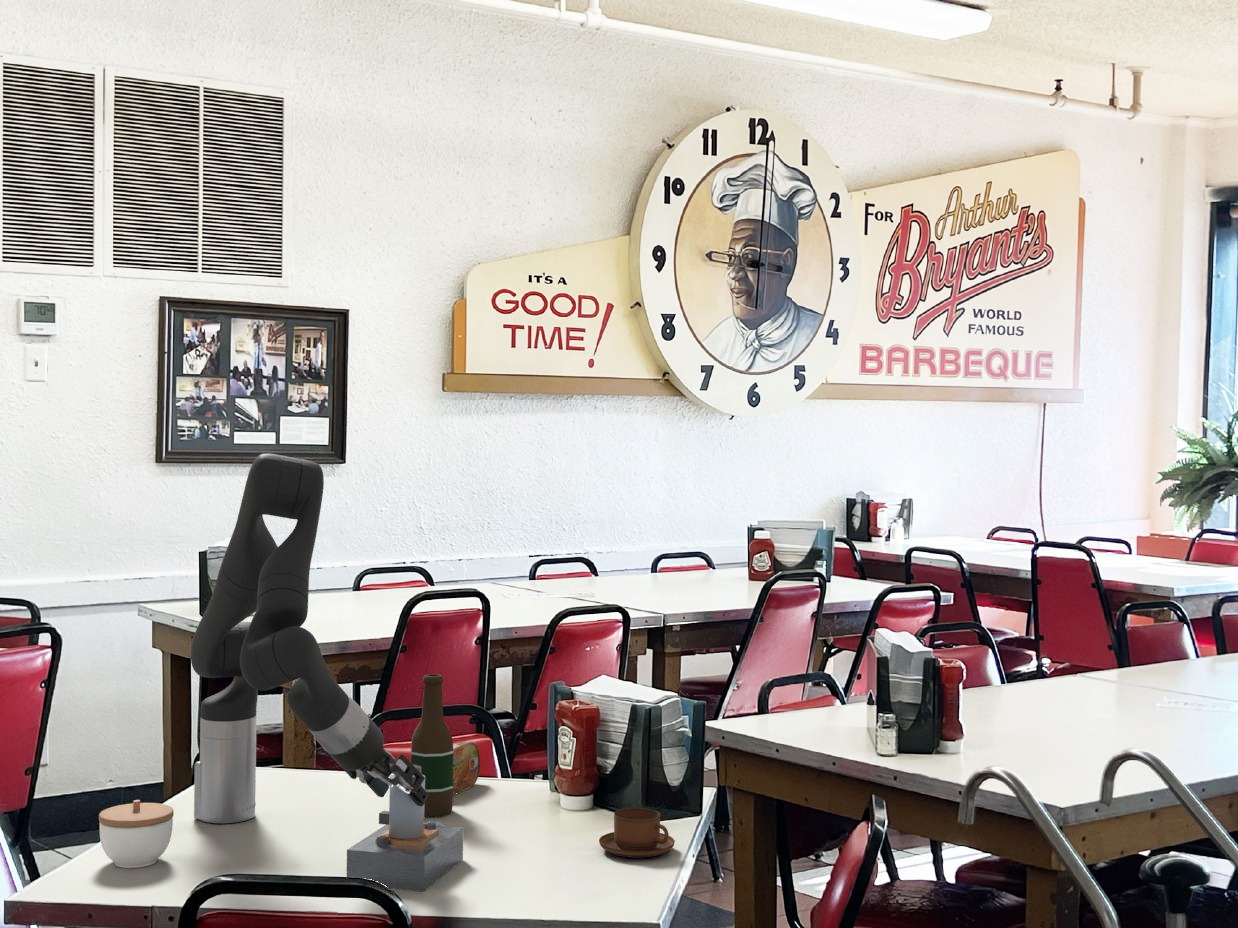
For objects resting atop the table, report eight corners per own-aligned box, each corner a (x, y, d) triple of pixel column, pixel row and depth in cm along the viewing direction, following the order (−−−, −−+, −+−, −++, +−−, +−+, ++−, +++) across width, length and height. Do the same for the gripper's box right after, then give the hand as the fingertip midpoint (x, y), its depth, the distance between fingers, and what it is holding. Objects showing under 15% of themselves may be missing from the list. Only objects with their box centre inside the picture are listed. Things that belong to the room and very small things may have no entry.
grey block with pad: (346, 883, 199) (346, 841, 199) (403, 843, 220) (404, 805, 220) (424, 891, 197) (424, 847, 197) (474, 850, 217) (475, 810, 217)
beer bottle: (445, 819, 235) (447, 679, 235) (402, 816, 237) (404, 677, 237) (459, 808, 243) (461, 672, 243) (417, 805, 245) (419, 670, 244)
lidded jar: (181, 865, 207) (181, 803, 207) (106, 876, 201) (107, 812, 201) (163, 848, 216) (163, 788, 216) (91, 858, 210) (92, 797, 210)
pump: (373, 836, 204) (375, 768, 204) (387, 827, 209) (389, 761, 209) (416, 839, 203) (417, 771, 203) (428, 831, 208) (430, 764, 208)
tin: (444, 800, 249) (444, 754, 249) (428, 798, 250) (429, 752, 250) (481, 782, 263) (482, 738, 263) (466, 780, 264) (467, 737, 264)
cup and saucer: (683, 846, 222) (684, 808, 222) (661, 867, 210) (661, 826, 210) (613, 838, 226) (614, 801, 226) (587, 858, 215) (588, 818, 214)
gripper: (393, 715, 194) (450, 782, 203) (327, 703, 203) (385, 768, 212) (364, 759, 190) (424, 826, 199) (298, 745, 198) (358, 809, 207)
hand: (403, 796), depth 205 cm, fingers open, 8 cm apart
